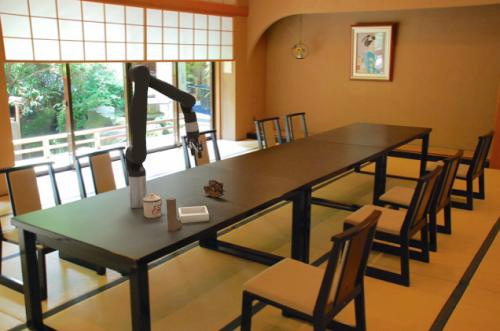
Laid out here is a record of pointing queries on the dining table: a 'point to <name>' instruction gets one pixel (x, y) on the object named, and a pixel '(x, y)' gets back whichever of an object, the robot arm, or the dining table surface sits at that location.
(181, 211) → the tray
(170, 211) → the wooden block
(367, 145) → the dining table surface
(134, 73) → the robot arm
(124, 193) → the dining table surface
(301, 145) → the dining table surface
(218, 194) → the wooden carving
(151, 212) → the teacup with lid
